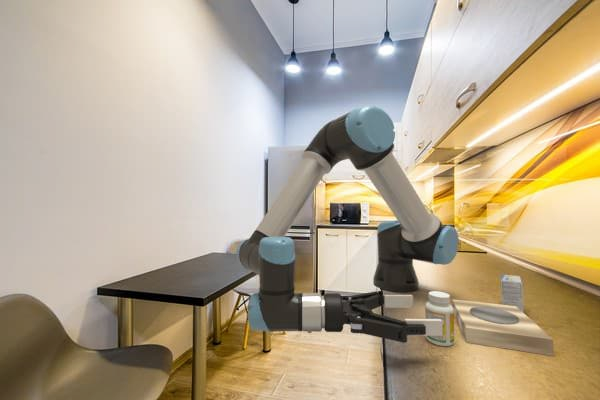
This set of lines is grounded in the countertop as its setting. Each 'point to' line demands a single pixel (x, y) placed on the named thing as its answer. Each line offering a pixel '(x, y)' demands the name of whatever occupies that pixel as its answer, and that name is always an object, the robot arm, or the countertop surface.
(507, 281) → the medicine box
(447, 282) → the countertop surface
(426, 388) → the countertop surface
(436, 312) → the supplement bottle
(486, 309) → the birch board
